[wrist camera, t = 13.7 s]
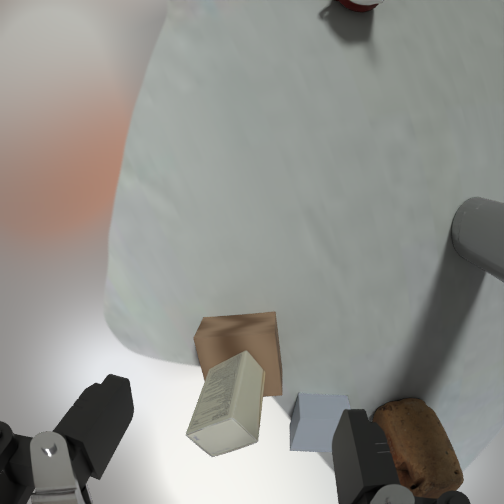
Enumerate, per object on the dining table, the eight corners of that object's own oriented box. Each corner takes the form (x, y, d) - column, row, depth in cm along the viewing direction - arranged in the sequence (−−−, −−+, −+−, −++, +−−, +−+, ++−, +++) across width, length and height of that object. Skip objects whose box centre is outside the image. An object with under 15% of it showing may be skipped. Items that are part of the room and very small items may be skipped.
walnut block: (275, 310, 42) (274, 332, 36) (282, 369, 45) (282, 395, 39) (203, 316, 43) (193, 338, 37) (217, 373, 46) (209, 398, 40)
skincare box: (228, 389, 39) (211, 458, 28) (207, 367, 39) (182, 435, 27) (267, 371, 38) (260, 443, 26) (247, 347, 37) (232, 418, 25)
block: (431, 397, 44) (473, 478, 25) (413, 426, 46) (444, 506, 27) (381, 394, 45) (414, 489, 25) (363, 424, 47) (385, 516, 27)
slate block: (346, 394, 45) (353, 419, 39) (334, 427, 47) (338, 451, 42) (298, 392, 46) (300, 418, 40) (289, 425, 48) (290, 450, 42)
